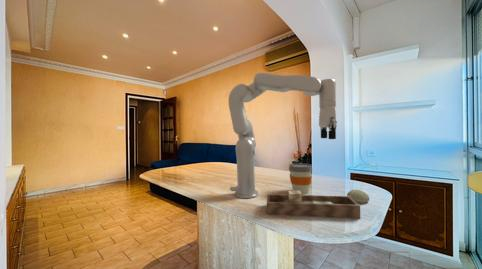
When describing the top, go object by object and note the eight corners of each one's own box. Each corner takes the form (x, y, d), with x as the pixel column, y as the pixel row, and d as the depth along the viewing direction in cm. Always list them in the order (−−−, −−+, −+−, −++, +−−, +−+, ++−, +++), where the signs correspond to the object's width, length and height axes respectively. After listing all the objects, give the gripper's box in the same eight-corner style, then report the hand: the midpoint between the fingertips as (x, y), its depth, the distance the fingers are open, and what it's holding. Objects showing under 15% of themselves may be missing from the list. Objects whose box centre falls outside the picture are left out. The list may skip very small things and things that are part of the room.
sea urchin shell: (360, 201, 89) (349, 186, 94) (350, 209, 95) (341, 194, 100) (375, 199, 92) (364, 184, 97) (365, 206, 97) (355, 192, 102)
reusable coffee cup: (291, 195, 106) (291, 167, 106) (287, 188, 118) (287, 163, 118) (315, 195, 105) (315, 167, 105) (309, 188, 118) (308, 163, 117)
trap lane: (267, 214, 83) (266, 202, 83) (267, 204, 93) (267, 194, 93) (360, 218, 77) (360, 205, 77) (349, 207, 88) (349, 196, 87)
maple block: (289, 205, 84) (289, 193, 84) (288, 201, 89) (288, 190, 89) (301, 205, 83) (301, 194, 83) (300, 201, 88) (299, 190, 88)
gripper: (313, 106, 108) (314, 138, 108) (327, 102, 90) (327, 139, 91) (327, 106, 108) (328, 137, 108) (343, 101, 90) (344, 139, 91)
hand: (327, 138), depth 99 cm, fingers open, 9 cm apart
